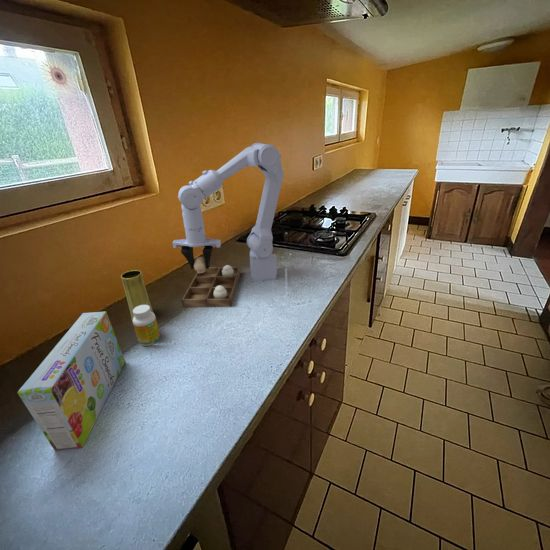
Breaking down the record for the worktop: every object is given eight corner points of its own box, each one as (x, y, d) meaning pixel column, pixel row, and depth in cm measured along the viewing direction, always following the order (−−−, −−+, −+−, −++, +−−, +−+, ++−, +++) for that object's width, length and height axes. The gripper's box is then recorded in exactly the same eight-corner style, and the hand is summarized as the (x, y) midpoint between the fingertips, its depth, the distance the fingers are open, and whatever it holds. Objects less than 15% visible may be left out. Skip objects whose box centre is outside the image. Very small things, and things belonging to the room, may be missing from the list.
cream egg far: (235, 275, 108) (234, 262, 106) (233, 281, 104) (232, 268, 102) (223, 275, 108) (222, 262, 106) (221, 281, 105) (219, 268, 102)
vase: (158, 313, 90) (148, 270, 83) (144, 325, 85) (131, 280, 78) (141, 309, 91) (130, 267, 85) (127, 321, 86) (113, 277, 80)
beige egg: (209, 268, 100) (207, 254, 97) (206, 274, 96) (204, 260, 94) (196, 268, 100) (194, 254, 97) (193, 274, 96) (190, 260, 94)
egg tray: (240, 275, 110) (240, 267, 108) (231, 308, 91) (230, 299, 89) (200, 275, 110) (199, 267, 109) (183, 309, 91) (181, 299, 90)
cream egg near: (228, 296, 96) (227, 282, 93) (226, 303, 92) (224, 289, 90) (215, 296, 96) (213, 282, 93) (213, 303, 92) (210, 289, 90)
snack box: (102, 364, 71) (81, 311, 64) (126, 362, 72) (108, 309, 65) (51, 452, 53) (14, 391, 46) (84, 448, 53) (52, 388, 46)
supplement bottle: (153, 347, 76) (144, 316, 72) (134, 345, 77) (124, 314, 73) (164, 334, 81) (157, 303, 76) (146, 332, 82) (138, 302, 77)
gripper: (220, 222, 94) (225, 262, 100) (174, 223, 95) (182, 262, 101) (216, 230, 88) (221, 271, 94) (167, 230, 88) (175, 272, 95)
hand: (200, 267), depth 97 cm, fingers closed on beige egg, 4 cm apart
